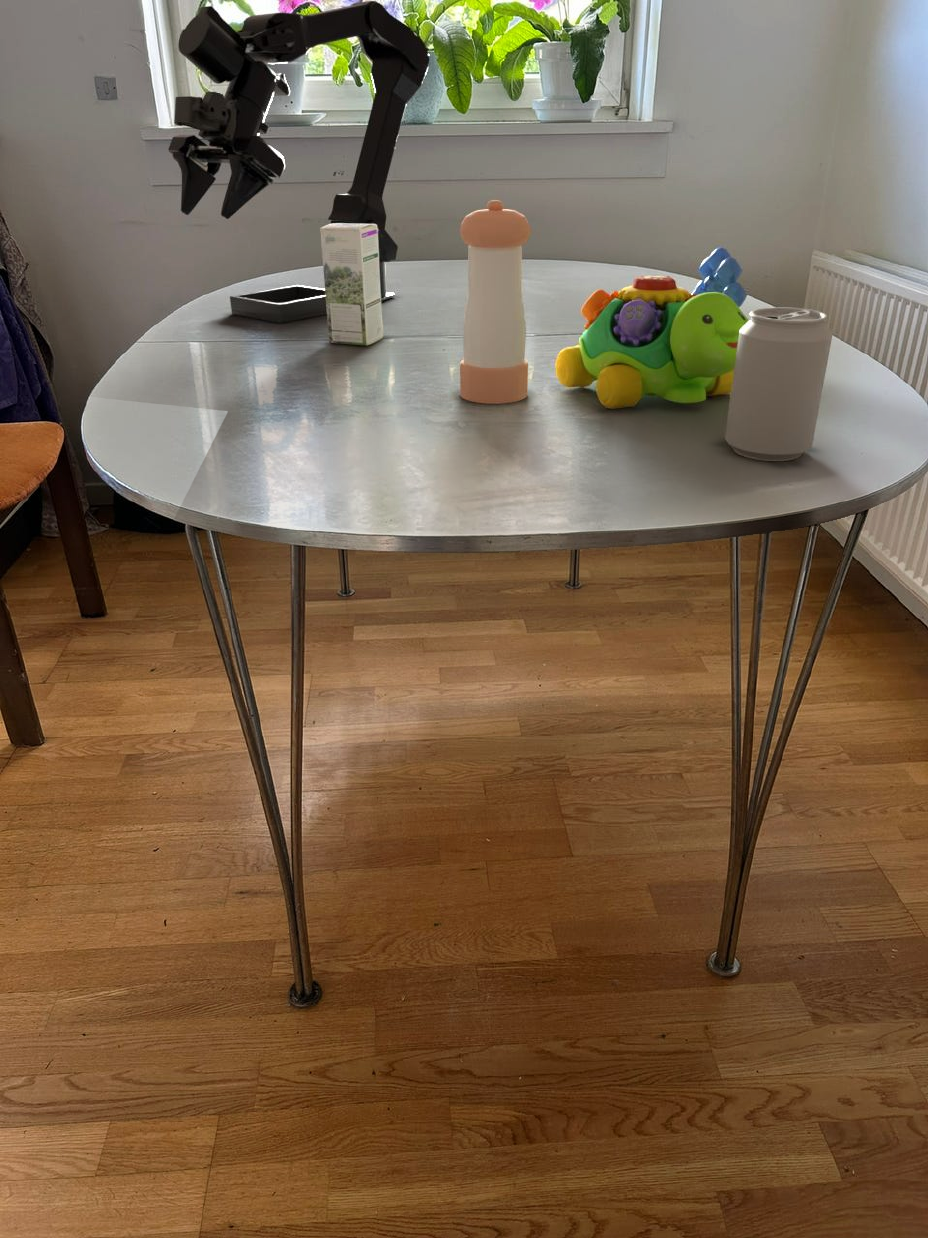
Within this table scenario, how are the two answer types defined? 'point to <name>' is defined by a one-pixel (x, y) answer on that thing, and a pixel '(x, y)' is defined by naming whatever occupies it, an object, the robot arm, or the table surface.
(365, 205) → the robot arm
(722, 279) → the grapes
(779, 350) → the can
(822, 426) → the table surface
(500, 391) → the pepper shaker
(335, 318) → the syrup box
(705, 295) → the turtle toy
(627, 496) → the table surface
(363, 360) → the table surface
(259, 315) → the baking tray
